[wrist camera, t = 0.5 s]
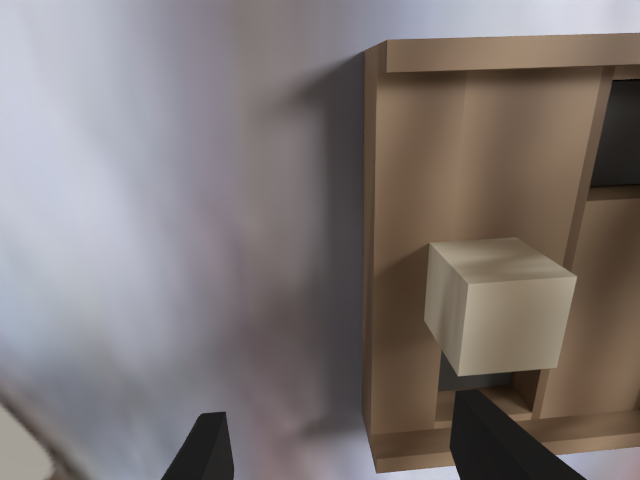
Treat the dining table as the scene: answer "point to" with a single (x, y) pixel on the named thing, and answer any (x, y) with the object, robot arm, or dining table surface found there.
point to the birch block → (496, 305)
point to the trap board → (502, 229)
